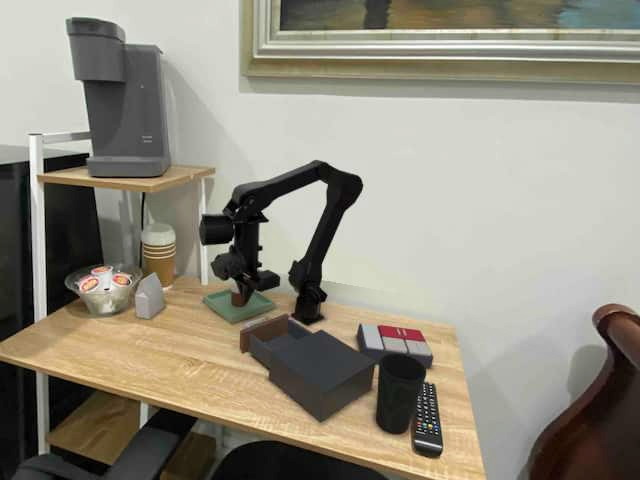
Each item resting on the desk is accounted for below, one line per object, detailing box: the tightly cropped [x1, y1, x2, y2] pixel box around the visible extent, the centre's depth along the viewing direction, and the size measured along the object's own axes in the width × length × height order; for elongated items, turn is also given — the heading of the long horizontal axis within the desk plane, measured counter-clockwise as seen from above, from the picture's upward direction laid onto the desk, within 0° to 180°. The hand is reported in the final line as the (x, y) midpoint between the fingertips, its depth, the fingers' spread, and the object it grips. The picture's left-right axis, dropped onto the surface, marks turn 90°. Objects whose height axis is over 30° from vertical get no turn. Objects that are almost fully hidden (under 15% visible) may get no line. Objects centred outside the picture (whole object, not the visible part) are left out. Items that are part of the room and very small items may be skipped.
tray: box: [202, 287, 276, 324], centre depth 108 cm, size 14×14×2 cm
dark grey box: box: [268, 328, 377, 423], centre depth 77 cm, size 15×15×7 cm
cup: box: [375, 353, 428, 435], centre depth 67 cm, size 8×8×12 cm
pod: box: [230, 285, 247, 307], centre depth 107 cm, size 4×4×4 cm
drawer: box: [239, 313, 313, 369], centre depth 87 cm, size 18×13×5 cm
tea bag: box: [134, 271, 165, 320], centre depth 100 cm, size 4×7×10 cm, turn 164°
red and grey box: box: [356, 323, 434, 370], centre depth 90 cm, size 11×4×15 cm
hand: (245, 302), depth 94 cm, fingers closed
